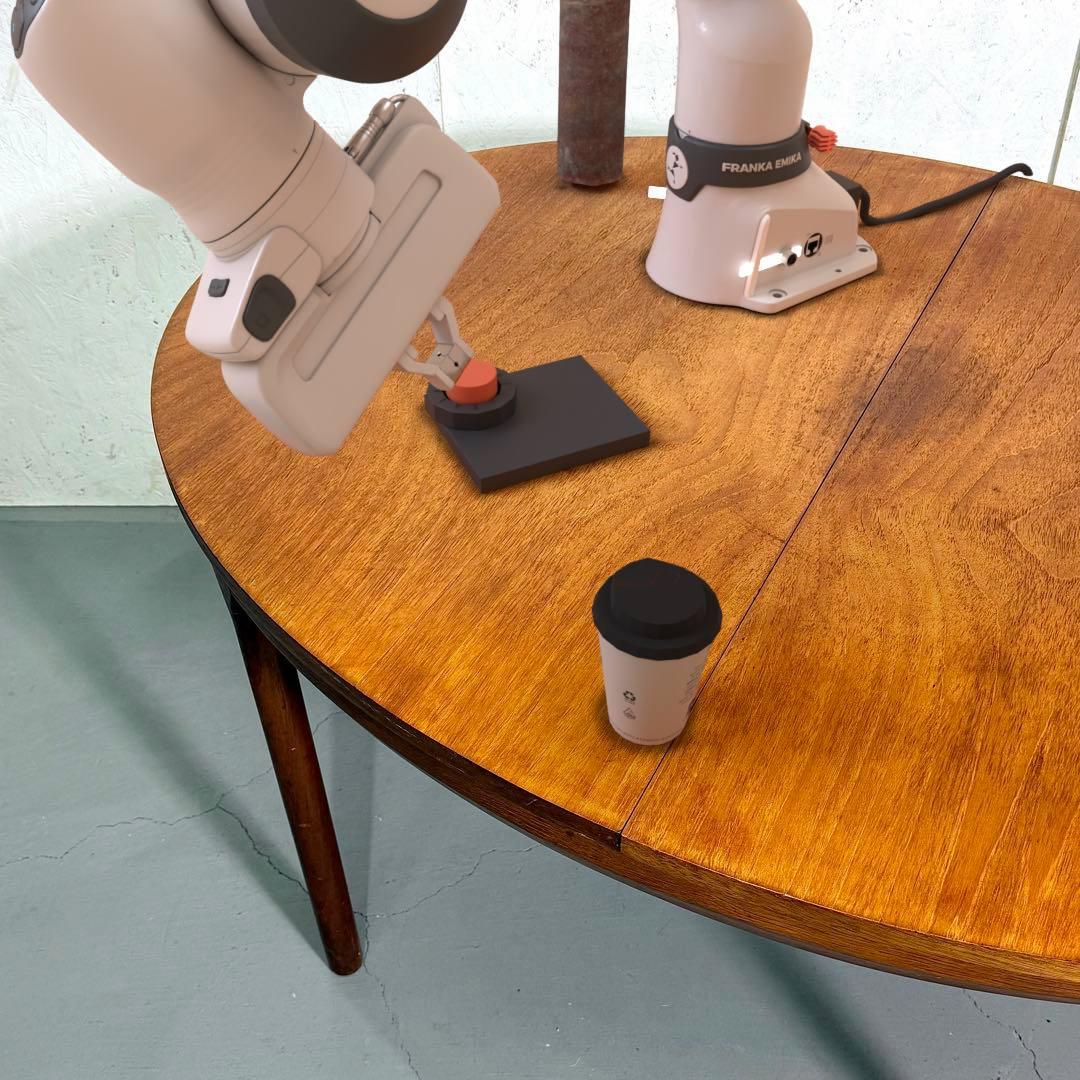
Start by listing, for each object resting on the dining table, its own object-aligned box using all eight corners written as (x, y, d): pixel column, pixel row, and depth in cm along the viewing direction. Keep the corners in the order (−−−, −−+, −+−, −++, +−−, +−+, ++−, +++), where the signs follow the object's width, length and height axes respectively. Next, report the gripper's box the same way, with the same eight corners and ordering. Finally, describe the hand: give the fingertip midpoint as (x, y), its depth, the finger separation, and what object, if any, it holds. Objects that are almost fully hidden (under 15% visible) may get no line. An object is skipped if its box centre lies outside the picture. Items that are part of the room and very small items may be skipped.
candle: (617, 198, 115) (625, -2, 102) (550, 193, 116) (551, -6, 103) (626, 170, 121) (636, -23, 108) (563, 165, 122) (565, -26, 109)
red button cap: (485, 372, 85) (484, 353, 84) (505, 398, 82) (504, 379, 81) (438, 384, 84) (437, 365, 82) (457, 411, 81) (455, 391, 80)
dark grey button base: (578, 366, 90) (578, 335, 88) (649, 445, 82) (652, 412, 80) (417, 407, 86) (414, 375, 84) (475, 495, 77) (473, 462, 75)
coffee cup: (731, 728, 61) (753, 606, 55) (633, 782, 58) (644, 660, 52) (659, 652, 66) (671, 531, 59) (564, 699, 63) (566, 577, 56)
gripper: (368, 83, 62) (511, 244, 71) (167, 361, 58) (345, 497, 67) (427, 66, 58) (572, 241, 66) (213, 369, 53) (399, 514, 62)
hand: (457, 372), depth 66 cm, fingers closed
